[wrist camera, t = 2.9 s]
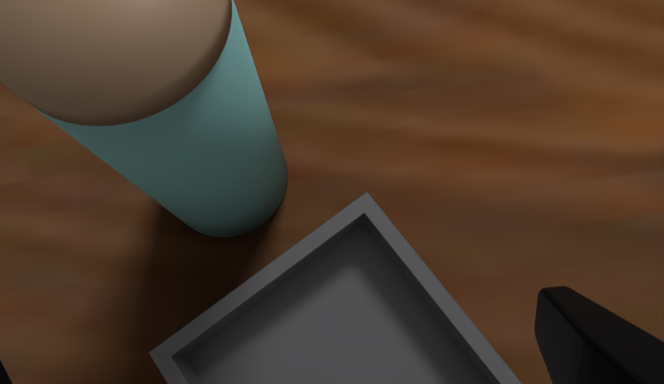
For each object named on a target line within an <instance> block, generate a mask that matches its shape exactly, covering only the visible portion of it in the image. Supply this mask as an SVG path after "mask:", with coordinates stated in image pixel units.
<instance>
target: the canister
mask: <svg viewBox="0 0 664 384" xmlns="http://www.w3.org/2000/svg"><path fill="white" fill-rule="evenodd" d="M0 81H1V82H2V83H3V84H4V85H5V86H7V87H8V88H9V89H10V90H12V91H13V92H14V93H16V94H17V95H18V96H20V97H21V98H22V99H23V100H25V101H26V102H27V103H29V104H30V105H31V106H33V107H34V108H35V109H36V110H38V111H39V112H40V113H42V114H43V115H44V116H46V117H47V118H48V119H50V120H51V121H52V122H53V123H55V124H56V125H57V126H59V127H60V128H61V129H63V130H64V131H65V132H66V133H68V134H69V135H70V136H72V137H73V138H74V139H76V140H77V141H78V142H80V143H81V144H82V145H83V146H85V147H86V148H87V149H89V150H90V151H91V152H93V153H94V154H95V155H96V156H98V157H99V158H100V159H102V160H103V161H104V162H106V163H107V164H108V165H109V166H111V167H112V168H113V169H115V170H116V171H117V172H119V173H120V174H121V175H123V176H124V177H125V178H126V179H128V180H129V181H130V182H132V183H133V184H134V185H136V186H137V187H138V188H139V189H141V190H142V191H143V192H145V193H146V194H147V195H149V196H150V197H151V198H152V199H154V200H155V201H156V202H158V203H159V204H160V205H162V206H163V207H164V208H166V209H167V210H168V211H169V212H171V213H172V214H173V215H175V216H176V217H177V218H179V219H180V220H181V221H182V222H184V223H185V224H186V225H188V226H189V227H191V228H192V229H194V230H196V231H198V232H199V233H202V234H205V235H208V236H213V237H234V236H239V235H243V234H246V233H248V232H250V231H253V230H255V229H256V228H258V227H259V226H261V225H262V224H264V223H265V222H266V221H267V220H268V219H269V218H270V217H271V216H272V215H273V214H274V213H275V211H276V210H277V209H278V207H279V206H280V204H281V202H282V200H283V197H284V195H285V192H286V188H287V181H288V171H287V165H286V161H285V158H284V155H283V152H282V149H281V145H280V142H279V139H278V136H277V133H276V130H275V127H274V124H273V121H272V118H271V115H270V112H269V108H268V105H267V102H266V99H265V96H264V93H263V90H262V87H261V84H260V81H259V78H258V75H257V72H256V68H255V65H254V62H253V59H252V56H251V53H250V50H249V47H248V44H247V41H246V38H245V35H244V31H243V28H242V25H241V22H240V19H239V16H238V13H237V10H236V7H235V4H234V1H233V0H0Z"/></svg>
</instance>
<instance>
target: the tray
mask: <svg viewBox="0 0 664 384" xmlns="http://www.w3.org/2000/svg"><path fill="white" fill-rule="evenodd" d="M149 354H150V356H151V357H152V359H153V361H154V362H155V364H156V365H157V367H158V369H159V370H160V372H161V374H162V375H163V377H164V378H165V380H166V382H167V383H168V384H522V383H521V382H520V381H519V380H518V378H517V377H516V376H515V375H514V373H513V372H512V371H511V370H510V368H509V367H508V366H507V365H506V363H505V362H504V361H503V360H502V359H501V357H500V356H499V355H498V354H497V352H496V351H495V350H494V349H493V347H492V346H491V345H490V344H489V342H488V341H487V340H486V339H485V337H484V336H483V335H482V334H481V333H480V331H479V330H478V329H477V328H476V326H475V325H474V324H473V323H472V321H471V320H470V319H469V318H468V316H467V315H466V314H465V313H464V311H463V310H462V309H461V308H460V307H459V305H458V304H457V303H456V302H455V300H454V299H453V298H452V297H451V295H450V294H449V293H448V292H447V290H446V289H445V288H444V287H443V285H442V284H441V283H440V282H439V281H438V279H437V278H436V277H435V276H434V274H433V273H432V272H431V271H430V269H429V268H428V267H427V266H426V264H425V263H424V262H423V261H422V259H421V258H420V257H419V256H418V255H417V253H416V252H415V251H414V250H413V248H412V247H411V246H410V245H409V243H408V242H407V241H406V240H405V238H404V237H403V236H402V235H401V233H400V232H399V231H398V230H397V229H396V227H395V226H394V225H393V224H392V222H391V221H390V220H389V219H388V217H387V216H386V215H385V214H384V212H383V211H382V210H381V209H380V207H379V206H378V205H377V204H376V203H375V201H374V200H373V199H372V198H371V196H370V195H369V194H368V193H367V192H366V193H365V194H364V195H362V196H361V197H360V198H358V199H357V200H355V201H354V202H353V203H351V204H350V205H349V206H347V207H346V208H345V209H343V210H342V211H341V212H339V213H338V214H336V215H335V216H334V217H332V218H331V219H330V220H328V221H327V222H326V223H324V224H323V225H322V226H320V227H319V228H317V229H316V230H315V231H313V232H312V233H311V234H309V235H308V236H307V237H305V238H304V239H303V240H301V241H300V242H298V243H297V244H296V245H294V246H293V247H292V248H290V249H289V250H288V251H286V252H285V253H284V254H282V255H281V256H279V257H278V258H277V259H275V260H274V261H273V262H271V263H270V264H269V265H267V266H266V267H265V268H263V269H262V270H260V271H259V272H258V273H256V274H255V275H254V276H252V277H251V278H250V279H248V280H247V281H246V282H244V283H243V284H241V285H240V286H239V287H237V288H236V289H235V290H233V291H232V292H231V293H229V294H228V295H227V296H225V297H224V298H222V299H221V300H220V301H218V302H217V303H216V304H214V305H213V306H212V307H210V308H209V309H208V310H206V311H205V312H203V313H202V314H201V315H199V316H198V317H197V318H195V319H194V320H193V321H191V322H190V323H189V324H187V325H186V326H184V327H183V328H182V329H180V330H179V331H178V332H176V333H175V334H174V335H172V336H171V337H170V338H168V339H167V340H165V341H164V342H163V343H161V344H160V345H159V346H157V347H156V348H155V349H153V350H152V351H151V352H149Z"/></svg>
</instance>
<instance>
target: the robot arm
mask: <svg viewBox="0 0 664 384" xmlns="http://www.w3.org/2000/svg"><path fill="white" fill-rule="evenodd" d="M535 336H536V340H537V343H538V345H539V348H540V351H541V353H542V356H543V359H544V362H545V364H546V367H547V370H548V372H549V375H550V378H551V380H552V383H553V384H664V342H663V341H661V340H660V339H658V338H656V337H654V336H653V335H651V334H649V333H647V332H646V331H644V330H642V329H640V328H639V327H637V326H635V325H633V324H632V323H630V322H628V321H626V320H625V319H623V318H621V317H619V316H618V315H616V314H614V313H612V312H611V311H609V310H607V309H606V308H604V307H602V306H600V305H599V304H597V303H595V302H593V301H592V300H590V299H588V298H586V297H585V296H583V295H581V294H579V293H578V292H576V291H574V290H572V289H571V288H569V287H566V286H557V287H547V288H543V289H541V290H540V291H539V294H538V299H537V308H536V318H535ZM0 384H12V382H11V380H10V378H9V376H8V374H7V372H6V370H5V368H4V366H3V364H2V363H1V361H0Z"/></svg>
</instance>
